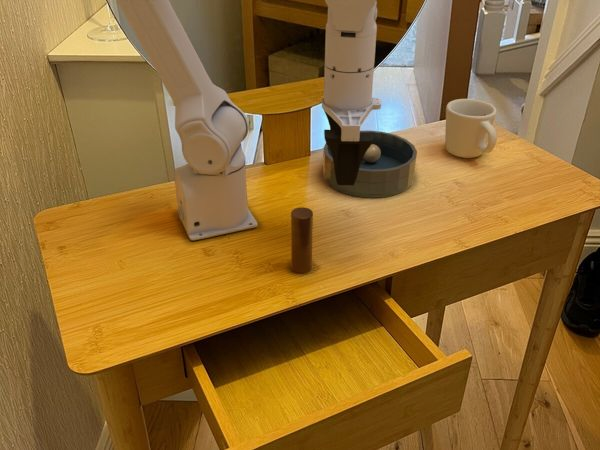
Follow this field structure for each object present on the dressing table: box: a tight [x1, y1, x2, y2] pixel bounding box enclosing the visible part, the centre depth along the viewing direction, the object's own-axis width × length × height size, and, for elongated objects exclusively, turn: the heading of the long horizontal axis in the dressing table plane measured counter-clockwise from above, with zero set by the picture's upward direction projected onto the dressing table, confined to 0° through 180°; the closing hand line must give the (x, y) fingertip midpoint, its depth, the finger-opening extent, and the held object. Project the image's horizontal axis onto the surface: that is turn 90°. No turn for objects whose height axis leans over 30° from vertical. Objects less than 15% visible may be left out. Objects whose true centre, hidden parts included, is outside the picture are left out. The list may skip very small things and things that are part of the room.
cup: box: [444, 98, 498, 159], centre depth 102 cm, size 11×8×8 cm
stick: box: [290, 206, 314, 274], centre depth 76 cm, size 3×3×8 cm
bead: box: [363, 144, 381, 163], centre depth 100 cm, size 3×3×3 cm
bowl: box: [322, 130, 418, 199], centre depth 97 cm, size 14×14×4 cm
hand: (343, 169), depth 80 cm, fingers open, 7 cm apart
